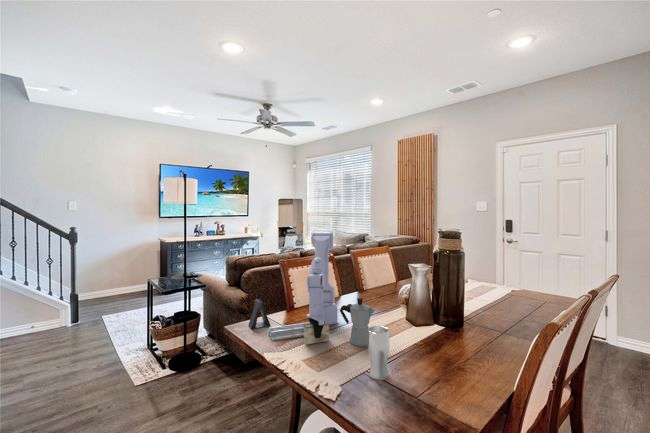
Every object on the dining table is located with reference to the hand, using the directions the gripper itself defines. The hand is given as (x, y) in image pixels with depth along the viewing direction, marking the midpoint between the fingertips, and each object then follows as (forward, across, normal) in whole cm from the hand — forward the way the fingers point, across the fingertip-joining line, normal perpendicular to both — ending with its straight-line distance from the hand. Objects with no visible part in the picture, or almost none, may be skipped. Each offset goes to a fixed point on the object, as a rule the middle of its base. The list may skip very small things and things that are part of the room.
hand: (316, 336), depth 122 cm
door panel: (+2, 0, 0) cm, 2 cm away
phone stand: (+3, -27, -20) cm, 34 cm away
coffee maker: (+3, +5, +16) cm, 17 cm away
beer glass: (+3, +30, +12) cm, 33 cm away
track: (+3, -13, -7) cm, 15 cm away
